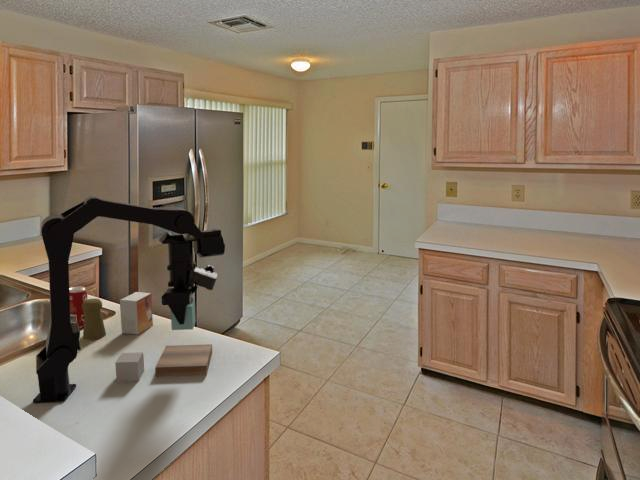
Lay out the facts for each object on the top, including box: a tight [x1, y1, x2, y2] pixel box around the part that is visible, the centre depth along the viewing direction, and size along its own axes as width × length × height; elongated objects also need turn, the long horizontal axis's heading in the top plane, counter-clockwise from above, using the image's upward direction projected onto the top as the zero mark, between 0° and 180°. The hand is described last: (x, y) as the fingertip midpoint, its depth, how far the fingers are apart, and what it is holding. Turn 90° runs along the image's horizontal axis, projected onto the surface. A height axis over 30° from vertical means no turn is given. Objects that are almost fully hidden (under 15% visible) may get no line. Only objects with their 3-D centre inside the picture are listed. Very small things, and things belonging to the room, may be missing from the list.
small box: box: [119, 291, 154, 335], centre depth 132 cm, size 8×6×10 cm
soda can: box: [69, 285, 89, 329], centre depth 133 cm, size 5×5×12 cm
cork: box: [82, 298, 107, 341], centre depth 126 cm, size 6×6×11 cm
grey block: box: [115, 351, 145, 383], centre depth 105 cm, size 5×5×5 cm
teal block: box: [170, 299, 197, 331], centre depth 109 cm, size 5×5×6 cm
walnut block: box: [154, 343, 213, 378], centre depth 112 cm, size 12×12×3 cm
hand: (183, 320), depth 110 cm, fingers closed on teal block, 5 cm apart
